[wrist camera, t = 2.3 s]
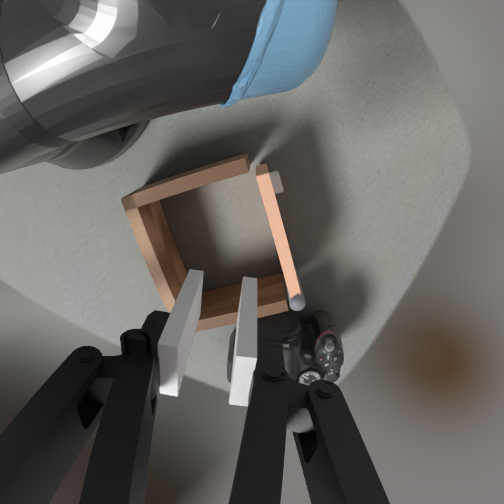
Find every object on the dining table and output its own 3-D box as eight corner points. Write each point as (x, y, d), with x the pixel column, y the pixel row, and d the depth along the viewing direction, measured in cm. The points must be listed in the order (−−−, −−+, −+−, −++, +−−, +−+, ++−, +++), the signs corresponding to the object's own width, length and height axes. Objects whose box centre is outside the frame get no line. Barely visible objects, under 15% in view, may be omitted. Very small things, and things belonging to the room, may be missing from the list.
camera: (321, 278, 36) (341, 330, 26) (341, 344, 39) (359, 400, 30) (211, 315, 37) (198, 372, 28) (243, 373, 41) (239, 431, 32)
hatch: (254, 166, 31) (253, 177, 24) (274, 161, 31) (279, 170, 24) (285, 275, 35) (291, 312, 28) (303, 271, 35) (313, 306, 28)
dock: (143, 186, 32) (120, 199, 26) (246, 152, 31) (244, 157, 25) (189, 304, 37) (178, 334, 31) (284, 281, 36) (288, 310, 30)
